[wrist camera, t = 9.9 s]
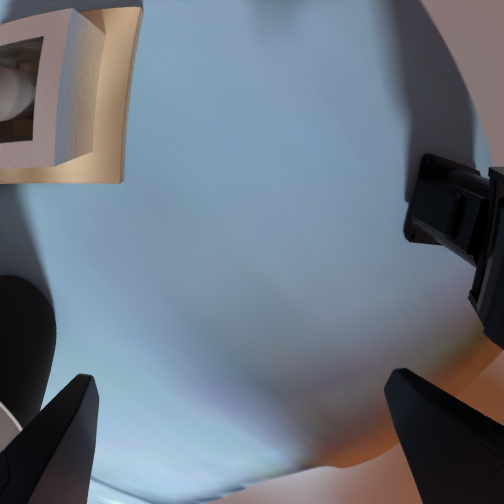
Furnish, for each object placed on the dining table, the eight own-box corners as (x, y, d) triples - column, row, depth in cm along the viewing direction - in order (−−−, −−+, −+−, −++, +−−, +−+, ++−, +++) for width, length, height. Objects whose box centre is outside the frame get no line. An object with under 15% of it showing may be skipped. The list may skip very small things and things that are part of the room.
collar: (105, 34, 12) (73, 7, 8) (93, 151, 15) (54, 166, 10) (8, 50, 11) (-41, 39, 6) (-1, 156, 13) (-51, 173, 9)
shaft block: (143, 12, 13) (120, -31, 7) (123, 180, 17) (91, 210, 11) (1, 33, 11) (-54, 18, 5) (-11, 181, 15) (-67, 208, 9)
